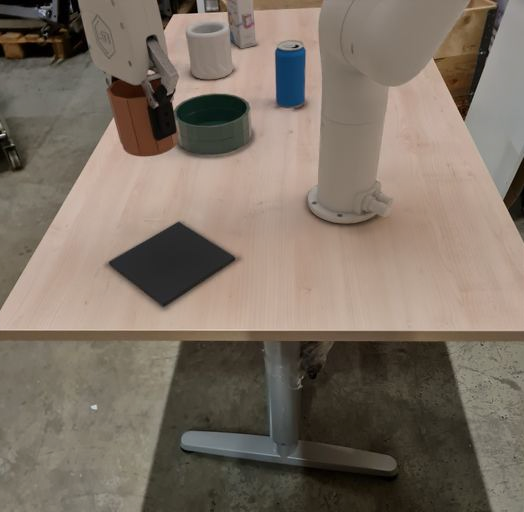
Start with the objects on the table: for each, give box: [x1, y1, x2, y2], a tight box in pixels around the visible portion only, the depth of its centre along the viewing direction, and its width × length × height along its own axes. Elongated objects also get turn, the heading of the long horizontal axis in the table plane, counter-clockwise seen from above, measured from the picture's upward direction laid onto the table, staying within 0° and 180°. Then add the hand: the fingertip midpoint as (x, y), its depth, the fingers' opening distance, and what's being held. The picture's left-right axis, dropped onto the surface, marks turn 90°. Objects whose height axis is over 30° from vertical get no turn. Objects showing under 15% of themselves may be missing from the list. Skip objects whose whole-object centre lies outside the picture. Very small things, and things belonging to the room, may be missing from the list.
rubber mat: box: [108, 221, 236, 308], centre depth 74 cm, size 14×14×1 cm
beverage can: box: [274, 39, 307, 109], centre depth 104 cm, size 6×6×12 cm
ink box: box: [225, 0, 257, 50], centre depth 132 cm, size 9×5×12 cm, turn 25°
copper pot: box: [106, 73, 178, 158], centre depth 60 cm, size 7×8×7 cm
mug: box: [185, 20, 234, 80], centre depth 120 cm, size 14×11×10 cm
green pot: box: [173, 93, 253, 156], centre depth 98 cm, size 15×15×6 cm
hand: (146, 125), depth 61 cm, fingers closed on copper pot, 7 cm apart
